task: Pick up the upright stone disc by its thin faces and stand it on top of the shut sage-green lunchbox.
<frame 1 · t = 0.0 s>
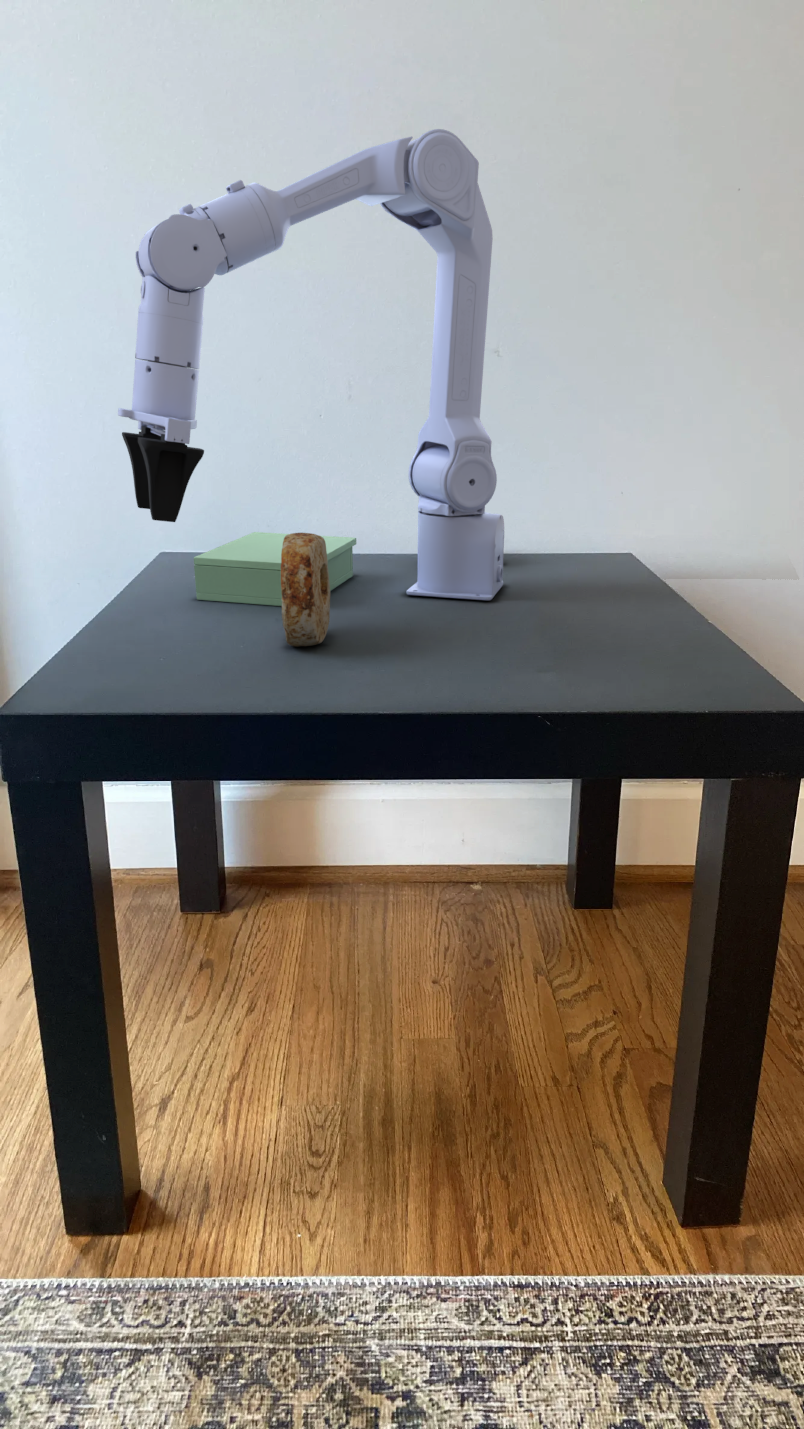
hand: (155, 514, 90), 11 cm above the table, tool pointing down, fingers open, 7 cm apart
lunchbox: (278, 587, 107), on the table
lunchbox lid: (279, 550, 106), point 4 cm above the table, hinge at 0.0°
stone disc: (308, 643, 87), on the table
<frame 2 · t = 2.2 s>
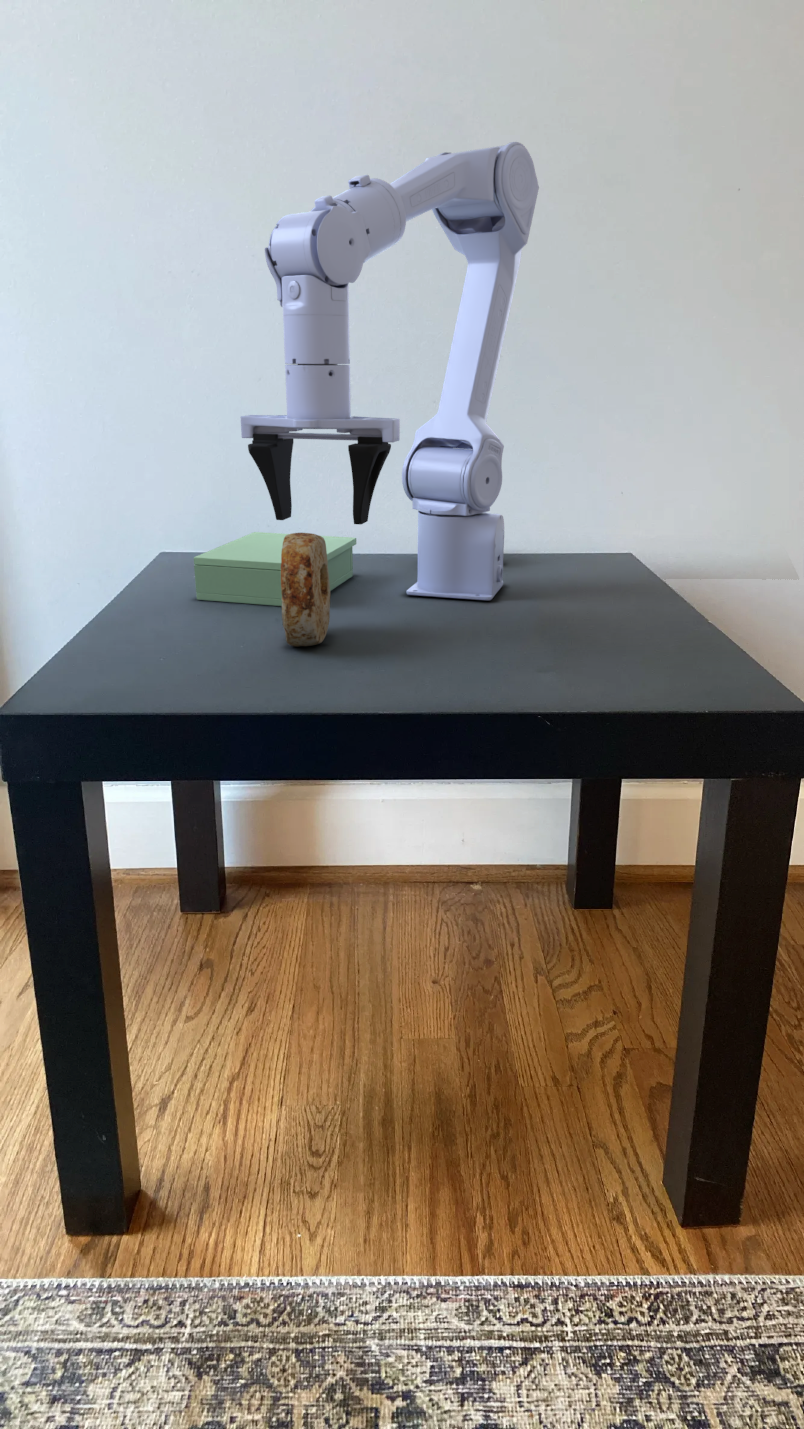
hand: (321, 520, 88), 10 cm above the table, tool pointing down, fingers open, 7 cm apart
nothing on the table moved.
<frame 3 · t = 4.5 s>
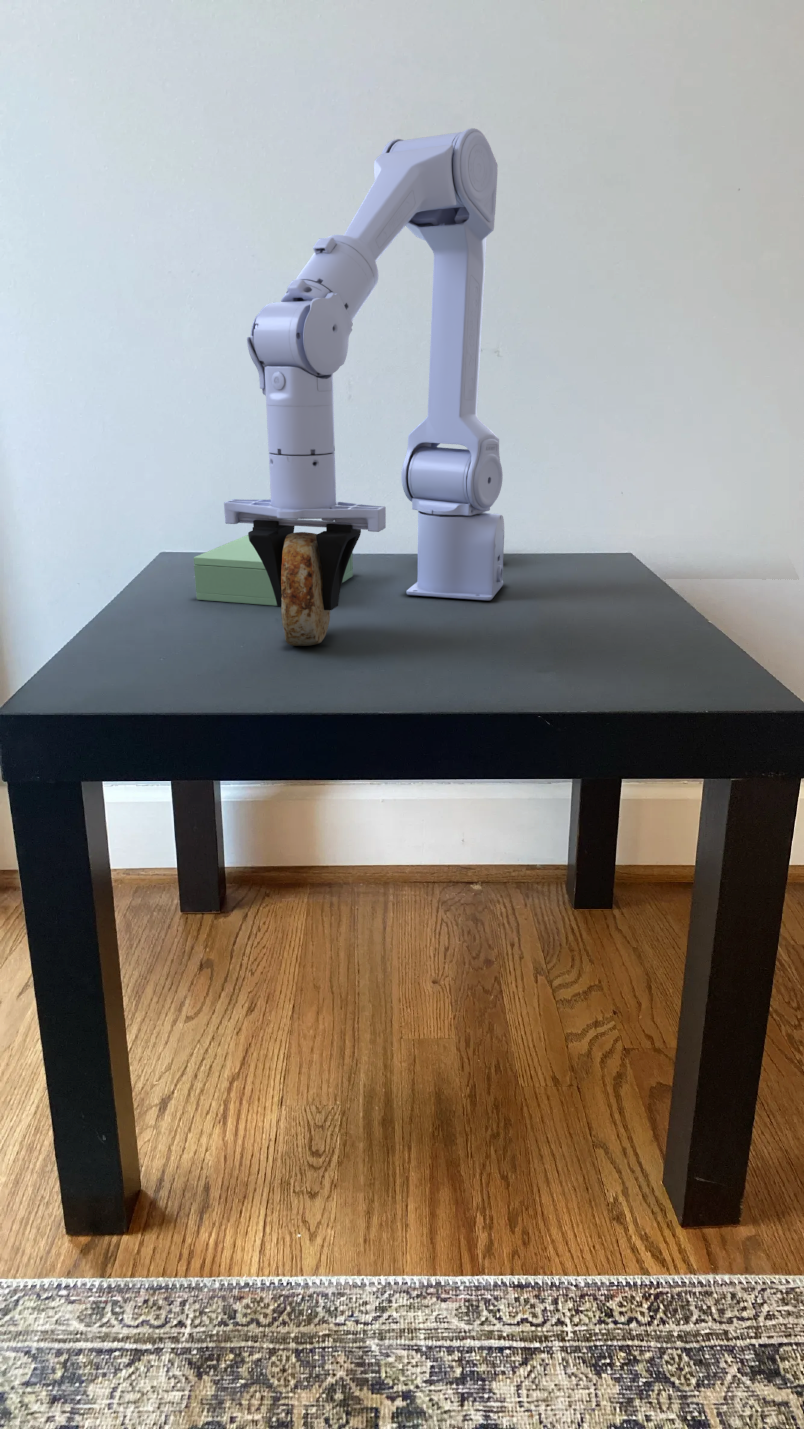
hand: (307, 605, 86), 3 cm above the table, tool pointing down, fingers closed on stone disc, 4 cm apart
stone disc: (308, 643, 87), on the table, touching gripper
everything else where it was.
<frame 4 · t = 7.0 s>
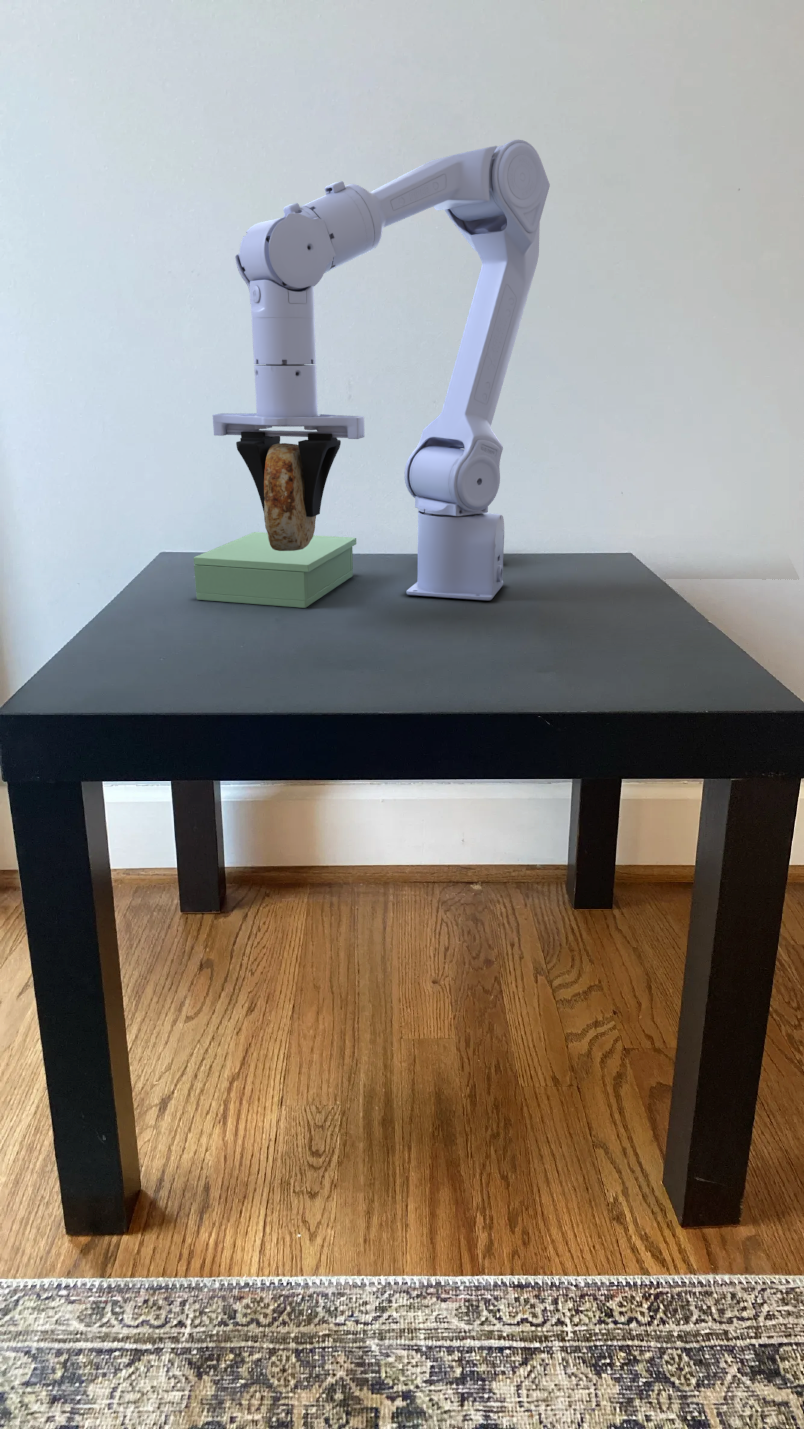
hand: (291, 514, 91), 10 cm above the table, tool pointing down, fingers closed on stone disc, 4 cm apart
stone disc: (292, 550, 93), point 7 cm above the table, touching gripper
everything else where it was.
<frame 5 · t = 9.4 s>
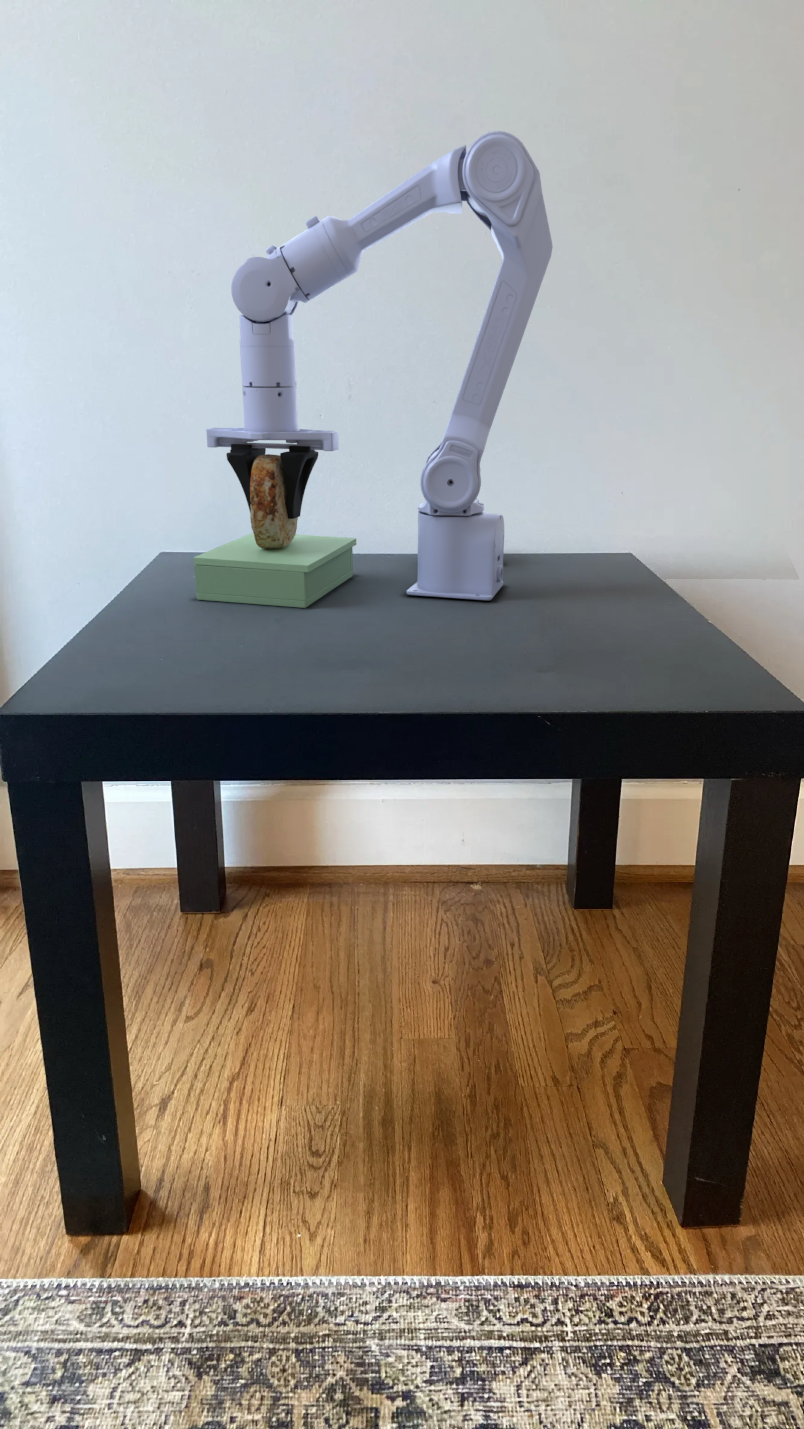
hand: (275, 516, 104), 8 cm above the table, tool pointing down, fingers closed on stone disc, 4 cm apart
lunchbox lid: (279, 550, 106), point 4 cm above the table, hinge at -0.2°, touching lunchbox, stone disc
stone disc: (276, 548, 106), point 4 cm above the table, touching gripper, lunchbox lid
everything else where it was.
when the fingers open (8 cm above the table, at t = 9.5 s): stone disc stays where it is, resting on lunchbox lid.
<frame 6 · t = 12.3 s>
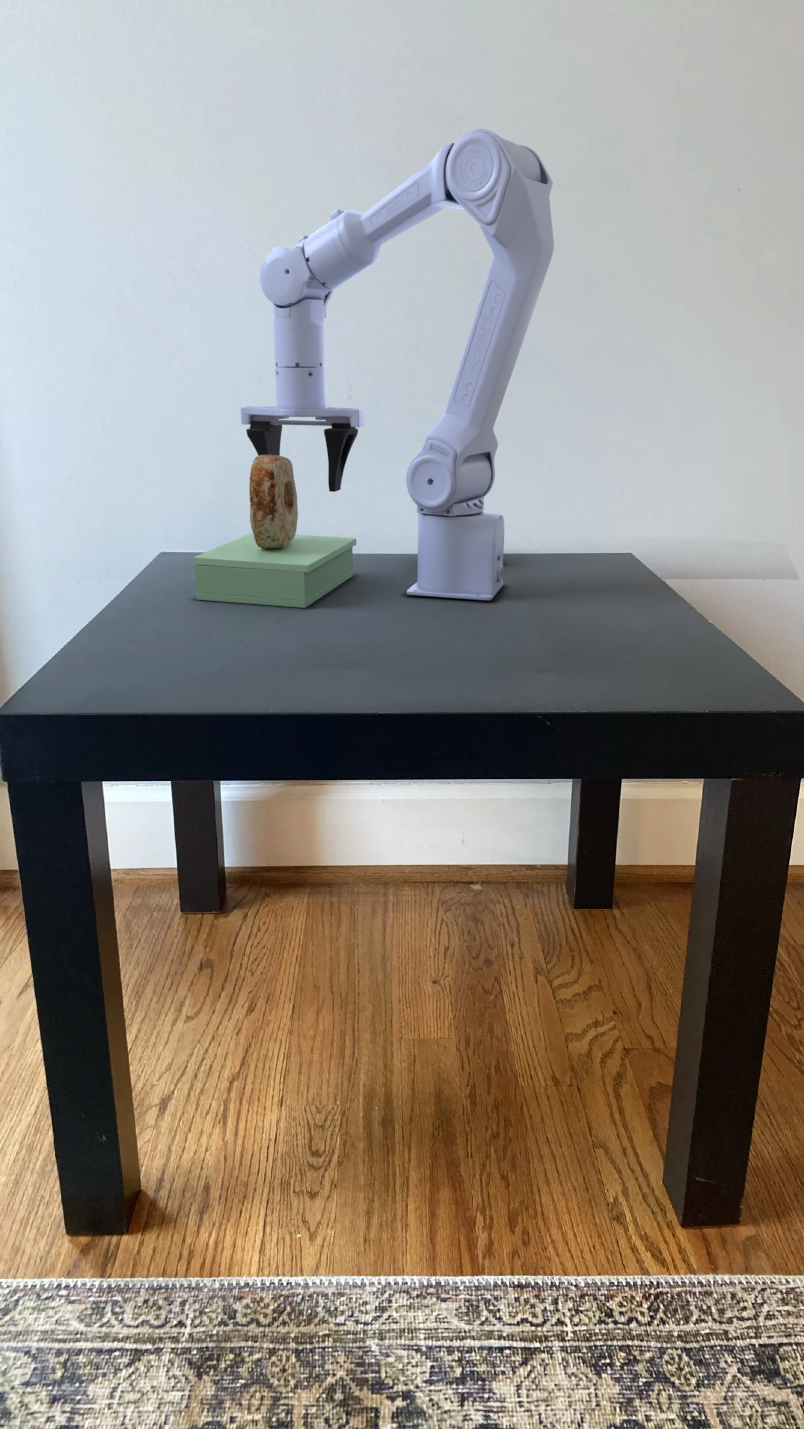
hand: (304, 489, 112), 10 cm above the table, tool pointing down, fingers open, 7 cm apart
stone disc: (276, 548, 106), point 4 cm above the table, touching lunchbox lid
everything else where it was.
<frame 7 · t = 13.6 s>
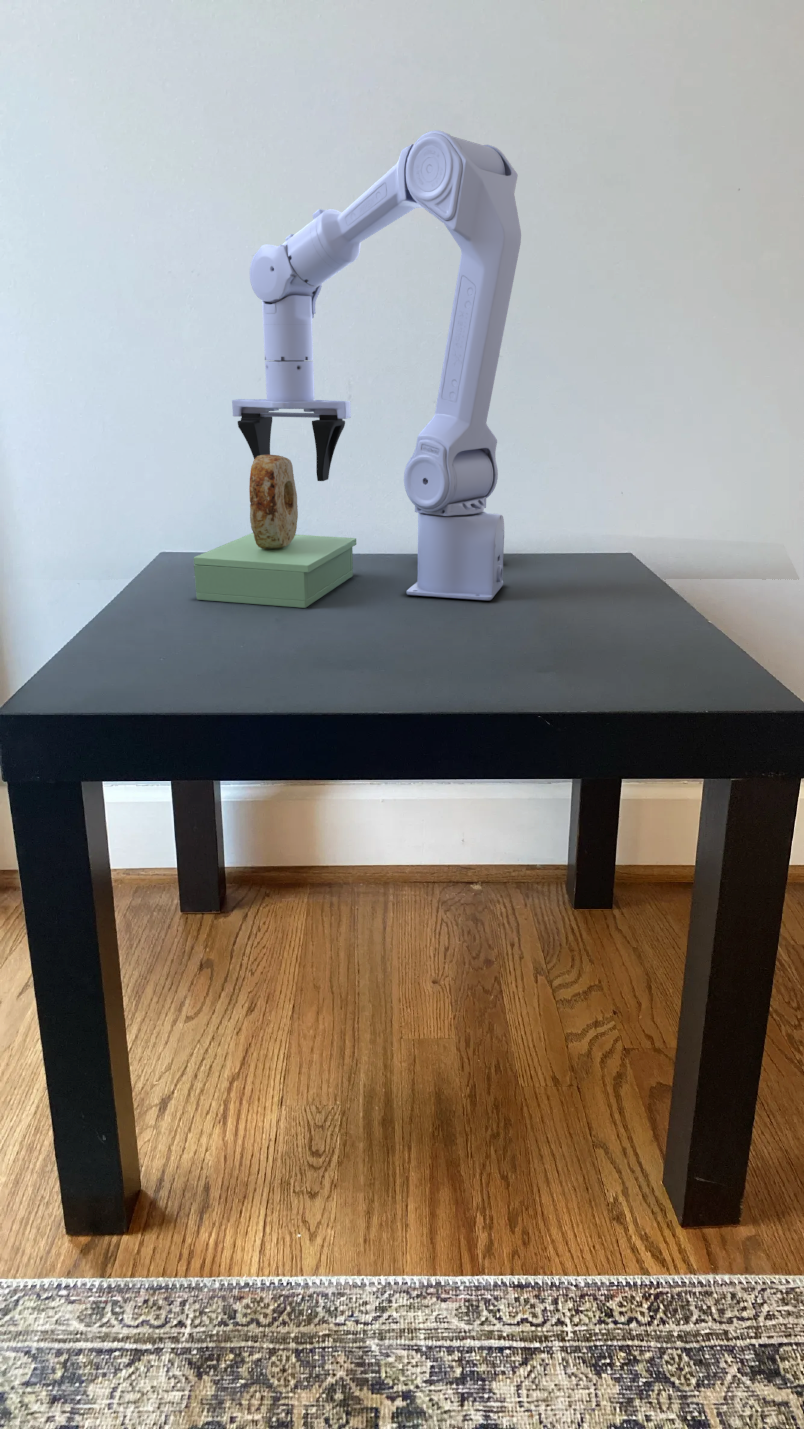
hand: (293, 479, 116), 10 cm above the table, tool pointing down, fingers open, 7 cm apart
nothing on the table moved.
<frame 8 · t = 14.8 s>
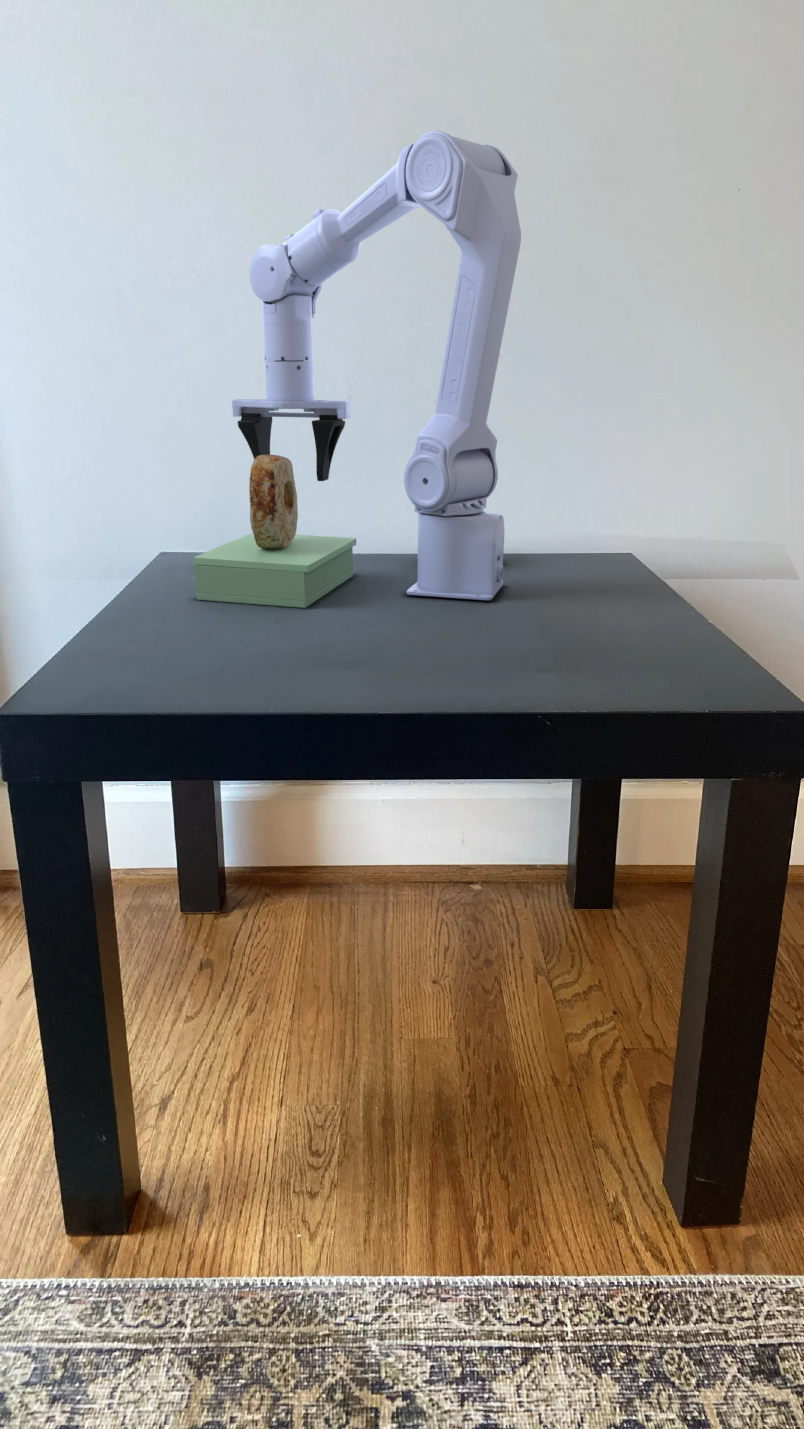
hand: (293, 479, 116), 10 cm above the table, tool pointing down, fingers open, 7 cm apart
nothing on the table moved.
at the end: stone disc inside the target area on the lunchbox (0.1 cm from its centre), point 4.4 cm above the lunchbox's base; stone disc touching lunchbox lid; lunchbox lid at +0° (first picture: +0°) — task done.
